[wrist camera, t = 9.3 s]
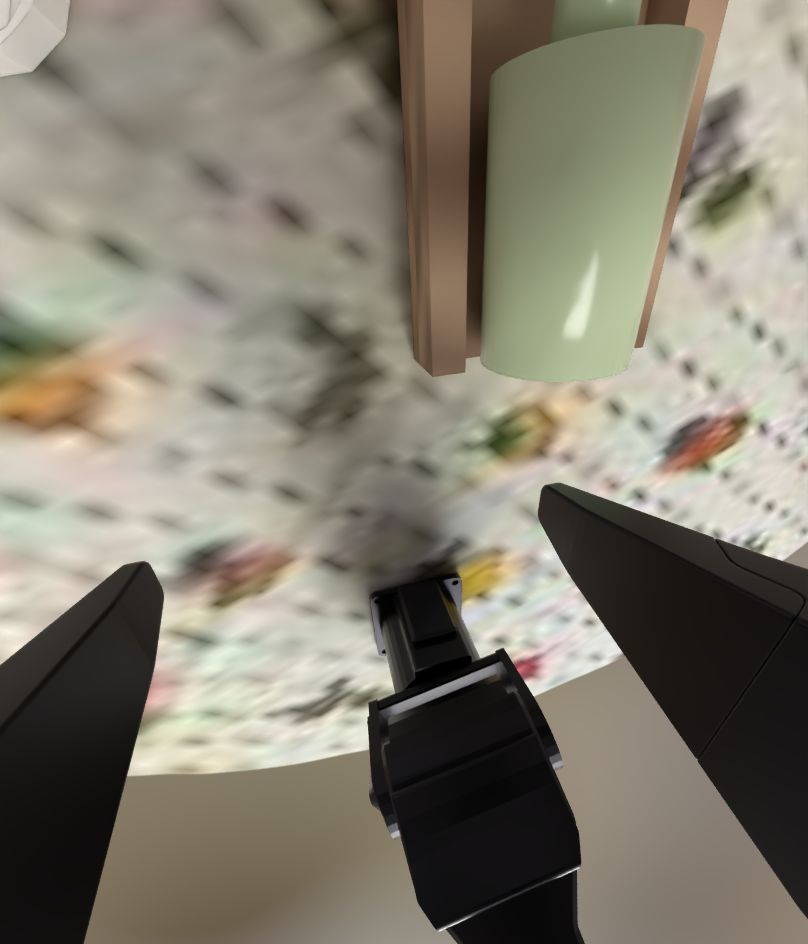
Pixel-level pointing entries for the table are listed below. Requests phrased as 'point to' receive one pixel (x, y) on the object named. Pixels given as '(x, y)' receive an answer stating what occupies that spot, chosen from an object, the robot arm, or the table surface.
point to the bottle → (580, 188)
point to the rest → (465, 150)
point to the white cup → (30, 32)
